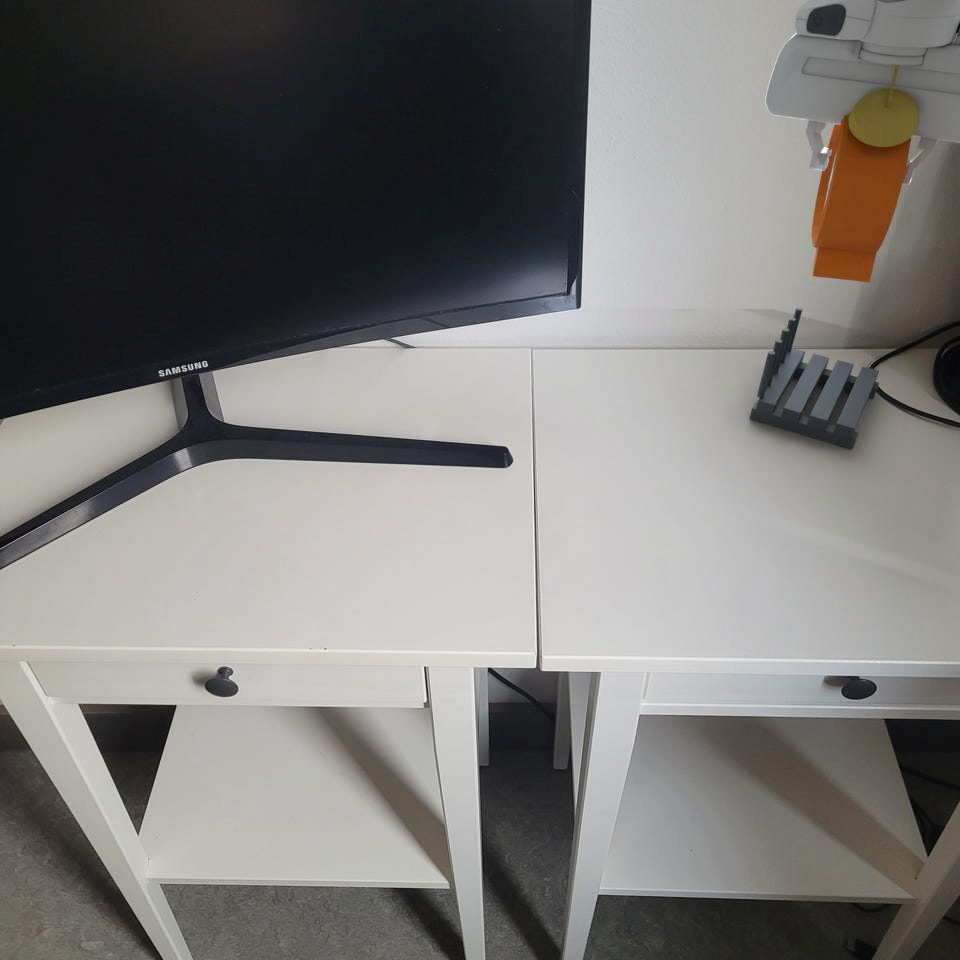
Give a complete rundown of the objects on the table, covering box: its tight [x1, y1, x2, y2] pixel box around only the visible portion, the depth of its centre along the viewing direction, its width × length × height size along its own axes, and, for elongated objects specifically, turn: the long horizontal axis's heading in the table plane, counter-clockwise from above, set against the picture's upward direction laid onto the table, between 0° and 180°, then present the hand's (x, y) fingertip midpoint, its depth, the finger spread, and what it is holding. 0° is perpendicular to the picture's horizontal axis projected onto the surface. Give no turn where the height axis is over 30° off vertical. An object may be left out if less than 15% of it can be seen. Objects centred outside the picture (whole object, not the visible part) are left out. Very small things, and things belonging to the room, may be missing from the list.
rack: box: [749, 307, 880, 450], centre depth 98 cm, size 12×14×9 cm
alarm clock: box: [811, 65, 919, 283], centre depth 78 cm, size 13×6×20 cm, turn 163°
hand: (858, 175), depth 79 cm, fingers closed on alarm clock, 6 cm apart
